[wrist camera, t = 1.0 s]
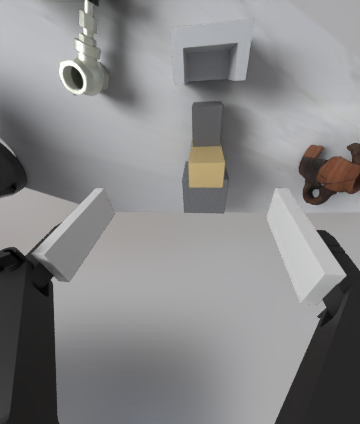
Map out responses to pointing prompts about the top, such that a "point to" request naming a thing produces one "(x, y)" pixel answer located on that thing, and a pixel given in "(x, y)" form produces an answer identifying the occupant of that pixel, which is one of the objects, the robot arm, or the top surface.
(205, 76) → the socket
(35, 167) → the top surface
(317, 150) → the rusty metal ring bracket
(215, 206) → the gray block
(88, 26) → the valve
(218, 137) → the two-tone stepped block
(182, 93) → the top surface
